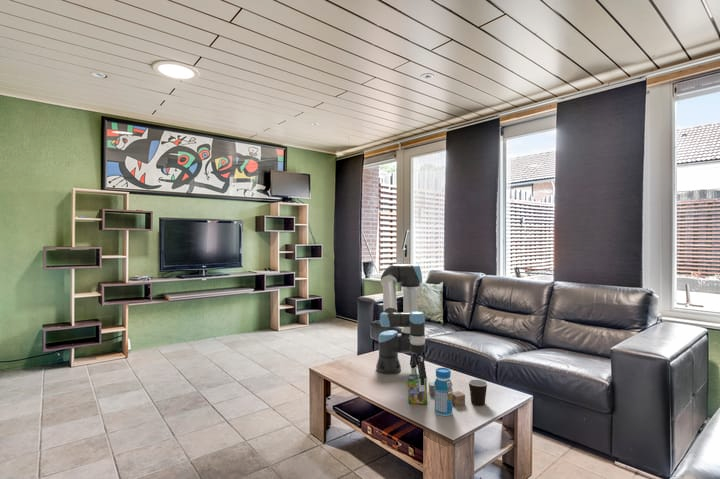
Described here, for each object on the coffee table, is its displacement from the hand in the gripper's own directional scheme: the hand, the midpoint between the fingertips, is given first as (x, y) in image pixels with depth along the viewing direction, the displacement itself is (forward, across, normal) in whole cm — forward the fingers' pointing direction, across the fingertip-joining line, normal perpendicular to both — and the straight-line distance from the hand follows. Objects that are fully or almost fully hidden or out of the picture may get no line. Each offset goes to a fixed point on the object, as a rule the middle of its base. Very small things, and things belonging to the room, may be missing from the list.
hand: (417, 385), depth 193 cm
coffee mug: (+8, +7, +29) cm, 31 cm away
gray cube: (+7, -7, +11) cm, 15 cm away
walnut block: (+8, +7, +18) cm, 21 cm away
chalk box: (+8, 0, 0) cm, 8 cm away
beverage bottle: (+8, +14, +8) cm, 18 cm away
